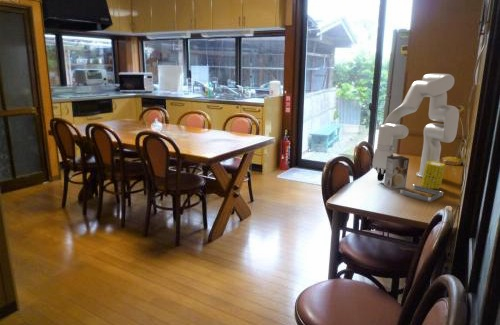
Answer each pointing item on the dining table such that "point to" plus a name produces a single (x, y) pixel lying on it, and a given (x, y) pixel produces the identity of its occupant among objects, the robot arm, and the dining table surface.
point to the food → (433, 175)
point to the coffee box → (396, 171)
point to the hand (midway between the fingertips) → (380, 180)
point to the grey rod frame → (421, 197)
